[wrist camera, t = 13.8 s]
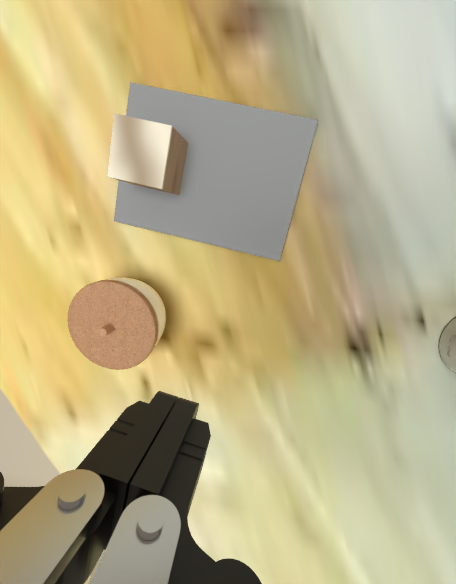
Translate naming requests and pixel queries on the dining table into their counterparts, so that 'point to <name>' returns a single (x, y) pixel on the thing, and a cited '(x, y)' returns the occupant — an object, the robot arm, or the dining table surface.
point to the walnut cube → (147, 154)
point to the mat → (222, 172)
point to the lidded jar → (116, 322)
